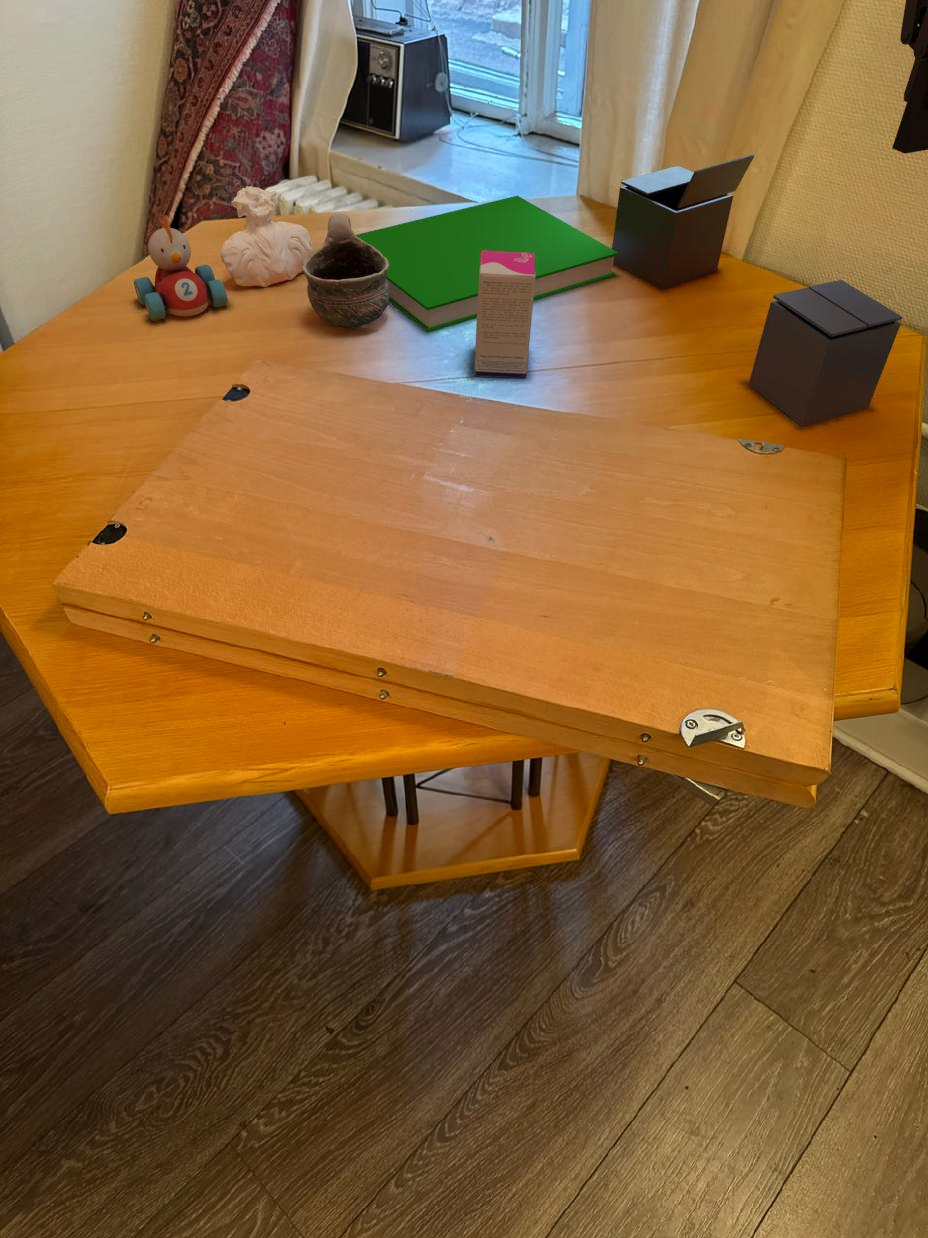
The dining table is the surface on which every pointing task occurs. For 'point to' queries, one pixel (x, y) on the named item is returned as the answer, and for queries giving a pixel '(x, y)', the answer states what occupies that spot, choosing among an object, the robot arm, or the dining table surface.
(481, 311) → the supplement box
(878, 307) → the front flap
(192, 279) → the toy car
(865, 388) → the front carton
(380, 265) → the mug
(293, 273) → the bust
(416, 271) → the book
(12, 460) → the dining table surface
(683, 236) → the back carton
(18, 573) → the dining table surface
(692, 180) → the back flap
